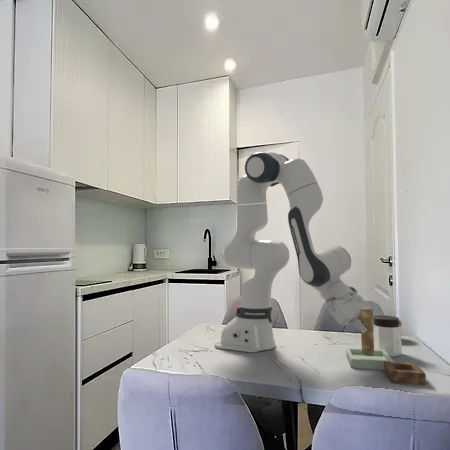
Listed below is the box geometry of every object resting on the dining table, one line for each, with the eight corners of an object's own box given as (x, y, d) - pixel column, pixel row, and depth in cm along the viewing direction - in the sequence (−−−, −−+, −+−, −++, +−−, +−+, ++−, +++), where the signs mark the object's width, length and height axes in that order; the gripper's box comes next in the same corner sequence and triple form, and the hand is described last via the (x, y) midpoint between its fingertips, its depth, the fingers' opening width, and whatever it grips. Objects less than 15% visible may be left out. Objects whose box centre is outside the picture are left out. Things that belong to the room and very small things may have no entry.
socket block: (391, 382, 92) (390, 371, 92) (384, 371, 100) (383, 361, 100) (426, 385, 90) (425, 373, 90) (415, 373, 98) (415, 363, 98)
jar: (391, 358, 112) (389, 320, 113) (368, 352, 119) (367, 316, 120) (406, 353, 117) (404, 317, 118) (383, 348, 124) (382, 314, 125)
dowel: (362, 355, 106) (361, 309, 107) (361, 352, 109) (359, 307, 111) (375, 356, 105) (373, 309, 106) (373, 353, 109) (371, 308, 110)
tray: (351, 367, 103) (350, 359, 104) (346, 355, 115) (346, 347, 115) (394, 370, 101) (394, 361, 101) (384, 357, 112) (384, 350, 113)
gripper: (330, 292, 106) (363, 329, 98) (356, 287, 121) (387, 319, 113) (317, 305, 109) (348, 343, 101) (344, 299, 124) (373, 331, 116)
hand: (369, 330), depth 107 cm, fingers closed on dowel, 4 cm apart
